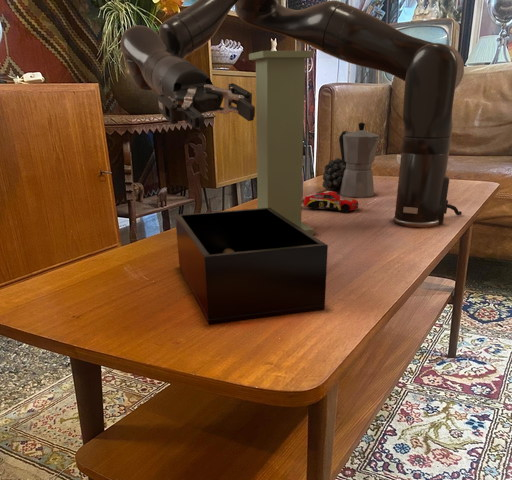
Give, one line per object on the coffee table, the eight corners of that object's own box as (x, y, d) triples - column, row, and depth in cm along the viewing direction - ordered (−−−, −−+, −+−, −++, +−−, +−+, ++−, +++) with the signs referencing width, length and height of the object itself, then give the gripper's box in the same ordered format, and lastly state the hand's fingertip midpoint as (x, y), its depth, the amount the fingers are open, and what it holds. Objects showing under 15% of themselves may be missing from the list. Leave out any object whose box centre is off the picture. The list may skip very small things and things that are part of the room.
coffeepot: (386, 196, 136) (393, 123, 128) (357, 200, 132) (363, 124, 125) (350, 188, 149) (355, 120, 141) (323, 191, 145) (326, 121, 137)
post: (245, 226, 109) (242, 54, 95) (294, 222, 112) (298, 54, 98) (261, 240, 100) (259, 50, 86) (314, 235, 102) (320, 50, 88)
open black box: (179, 268, 85) (175, 214, 81) (270, 259, 88) (270, 207, 85) (208, 325, 64) (204, 257, 60) (324, 310, 68) (328, 245, 64)
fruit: (335, 160, 134) (352, 152, 146) (307, 169, 139) (325, 161, 151) (344, 193, 137) (359, 182, 149) (315, 200, 141) (333, 190, 153)
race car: (361, 209, 124) (362, 192, 122) (354, 214, 119) (355, 196, 117) (309, 204, 129) (309, 188, 127) (301, 208, 124) (301, 191, 123)
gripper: (219, 102, 93) (266, 135, 83) (144, 114, 87) (185, 152, 77) (218, 56, 88) (269, 86, 78) (139, 66, 82) (182, 99, 72)
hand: (227, 118), depth 77 cm, fingers open, 8 cm apart
